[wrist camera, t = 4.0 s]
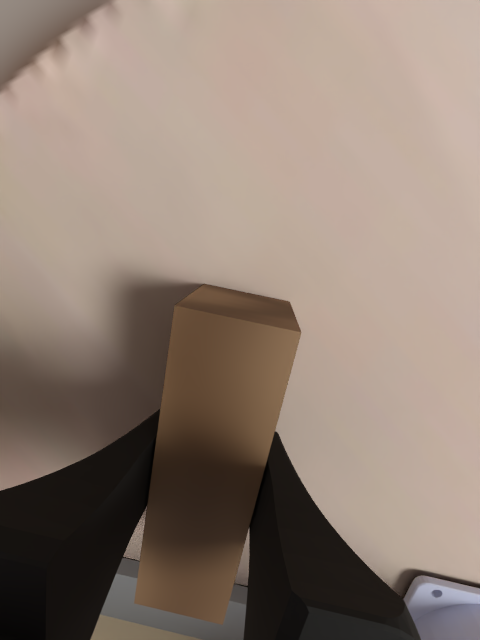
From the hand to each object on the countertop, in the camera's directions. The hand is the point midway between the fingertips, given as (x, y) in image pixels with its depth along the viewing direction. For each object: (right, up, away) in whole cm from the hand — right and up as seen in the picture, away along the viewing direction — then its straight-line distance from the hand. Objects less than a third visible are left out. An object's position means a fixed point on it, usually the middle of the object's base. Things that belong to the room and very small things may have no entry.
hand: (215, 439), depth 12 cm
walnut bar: (0, 0, +1) cm, 1 cm away
